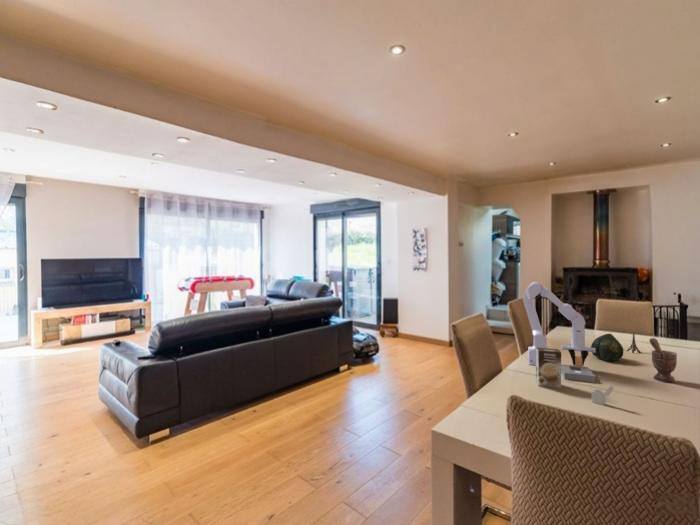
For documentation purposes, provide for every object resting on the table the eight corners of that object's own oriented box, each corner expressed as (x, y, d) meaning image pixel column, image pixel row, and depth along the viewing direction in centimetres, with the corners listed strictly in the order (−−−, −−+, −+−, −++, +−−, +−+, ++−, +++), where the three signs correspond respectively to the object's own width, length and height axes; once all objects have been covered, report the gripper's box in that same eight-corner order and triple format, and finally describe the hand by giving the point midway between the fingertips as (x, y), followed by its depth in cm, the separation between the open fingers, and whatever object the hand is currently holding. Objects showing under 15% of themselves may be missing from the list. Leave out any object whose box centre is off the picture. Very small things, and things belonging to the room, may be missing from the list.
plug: (575, 369, 175) (575, 357, 175) (573, 367, 179) (573, 355, 179) (582, 370, 174) (582, 358, 174) (580, 367, 178) (580, 356, 178)
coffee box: (538, 386, 153) (538, 350, 153) (535, 381, 159) (535, 347, 159) (561, 388, 150) (561, 352, 150) (558, 383, 156) (557, 348, 156)
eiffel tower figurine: (651, 353, 204) (651, 331, 204) (649, 357, 197) (649, 333, 197) (620, 348, 215) (620, 327, 215) (617, 352, 208) (616, 330, 208)
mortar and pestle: (671, 386, 152) (671, 341, 151) (646, 380, 159) (646, 337, 159) (679, 381, 158) (679, 337, 158) (655, 375, 165) (655, 334, 165)
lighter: (591, 402, 136) (591, 382, 136) (592, 400, 138) (592, 380, 137) (613, 407, 131) (613, 386, 131) (614, 406, 132) (614, 385, 132)
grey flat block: (564, 379, 162) (564, 372, 162) (559, 370, 175) (559, 363, 175) (595, 382, 157) (595, 375, 157) (587, 373, 170) (587, 366, 170)
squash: (589, 351, 189) (610, 332, 186) (582, 345, 203) (602, 327, 199) (612, 370, 185) (635, 351, 181) (604, 363, 199) (625, 345, 195)
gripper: (562, 339, 176) (563, 365, 176) (597, 341, 170) (597, 368, 170) (560, 336, 182) (560, 361, 182) (593, 338, 176) (593, 364, 176)
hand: (578, 364), depth 177 cm, fingers closed on plug, 3 cm apart
